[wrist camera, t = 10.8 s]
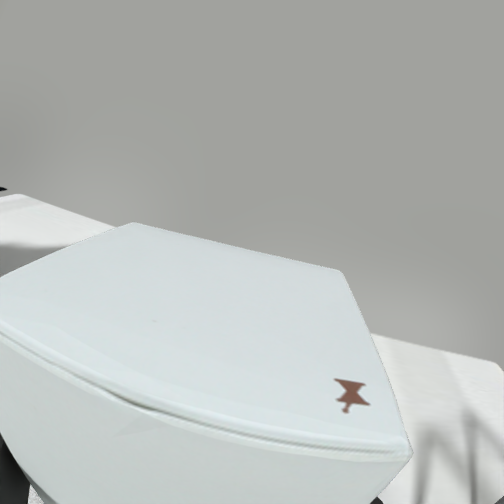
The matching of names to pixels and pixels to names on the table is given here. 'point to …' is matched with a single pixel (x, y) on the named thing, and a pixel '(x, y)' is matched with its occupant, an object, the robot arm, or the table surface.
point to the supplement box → (192, 377)
